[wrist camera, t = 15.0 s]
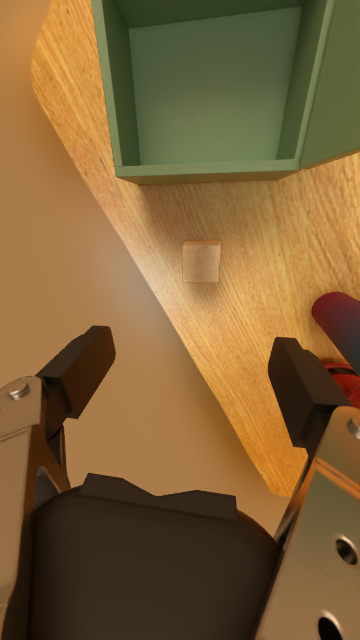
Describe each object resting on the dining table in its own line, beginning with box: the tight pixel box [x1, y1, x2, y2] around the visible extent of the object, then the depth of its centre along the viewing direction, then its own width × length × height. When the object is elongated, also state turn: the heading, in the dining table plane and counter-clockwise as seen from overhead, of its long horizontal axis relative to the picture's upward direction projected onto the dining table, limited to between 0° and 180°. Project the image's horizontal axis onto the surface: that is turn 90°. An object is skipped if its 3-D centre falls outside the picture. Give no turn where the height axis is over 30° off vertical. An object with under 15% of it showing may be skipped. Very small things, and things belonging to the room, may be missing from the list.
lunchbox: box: [91, 0, 337, 185], centre depth 18 cm, size 17×13×7 cm
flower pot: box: [323, 363, 360, 409], centre depth 31 cm, size 13×13×12 cm
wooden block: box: [182, 240, 221, 283], centre depth 26 cm, size 4×4×4 cm
